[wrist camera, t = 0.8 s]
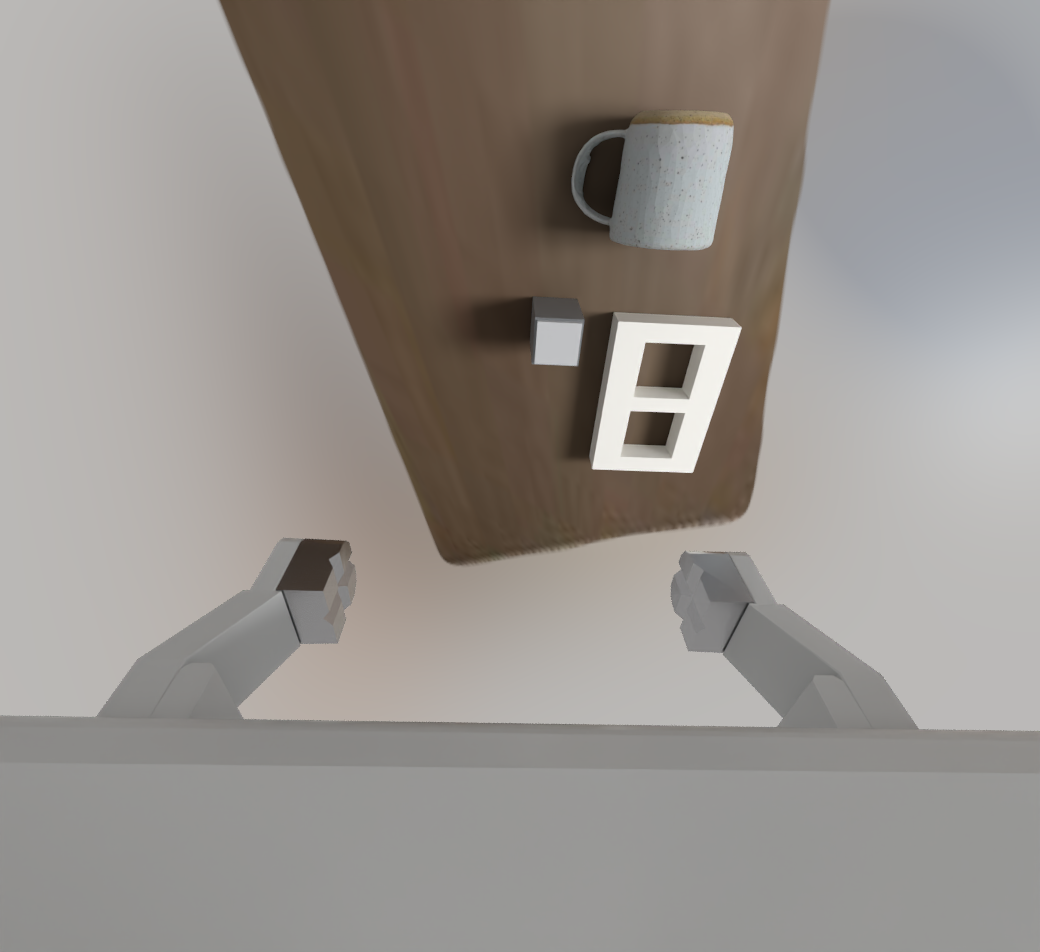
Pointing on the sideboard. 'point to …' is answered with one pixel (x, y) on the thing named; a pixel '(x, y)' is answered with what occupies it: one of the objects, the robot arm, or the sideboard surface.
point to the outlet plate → (660, 390)
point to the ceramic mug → (665, 179)
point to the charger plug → (556, 331)
